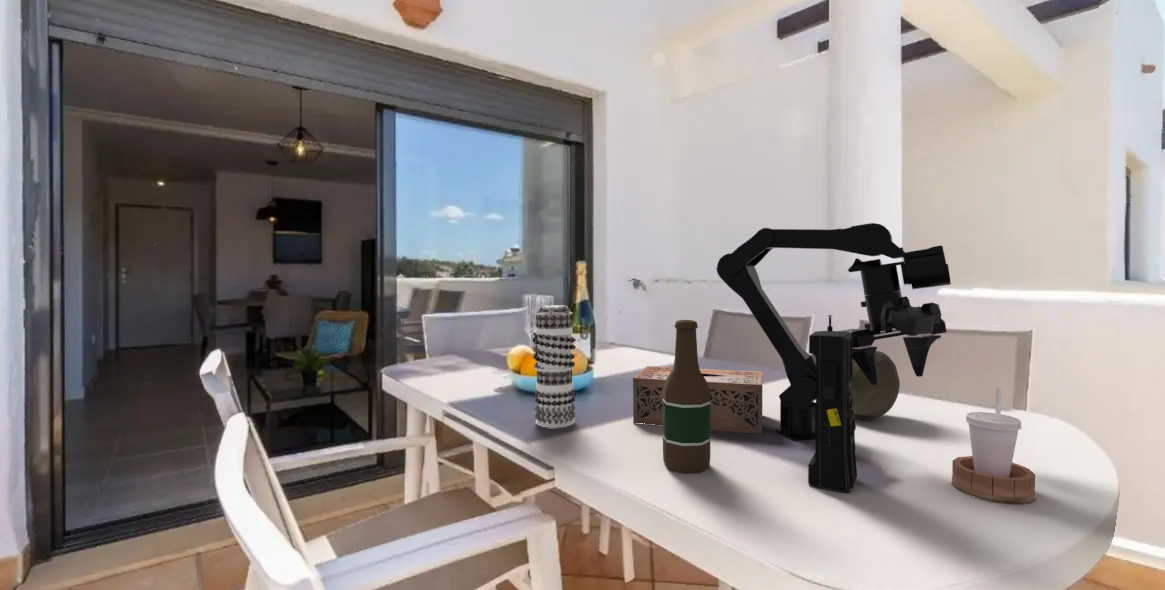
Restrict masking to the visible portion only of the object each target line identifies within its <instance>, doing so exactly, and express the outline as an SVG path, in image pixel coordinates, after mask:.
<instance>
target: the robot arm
mask: <svg viewBox="0 0 1165 590" xmlns="http://www.w3.org/2000/svg"><path fill="white" fill-rule="evenodd" d="M773 249H805V250H806V249H809V250H836V251H840V252H841V251H842V252H846V253H852V254H856V255H863V256H868V257H879V256H882V255H883V256H885V257H888V258H890V259H893V260H894V259H895V260H896V259H903V261H898V262H891V263H882V260H881V258H876V259H871V260H870V259H869V260H864V261H862V260H861V259H860V258H859V257H858V258H855V259H854V261H853V263H852V265H851V266H850V267H848V269H847V272H849V273H855V272H856V273H857V272H860V275H861V281H862V288H863V293H864V294H863V295H864V301H860V307H861V308H866V312H867V313H866V314H867V318H868V323H864V325H863V326H864V328H850V329H844V330H841V331H843V332H849V333H850V334H851V335H852V337H853V356H852V358H853V360H854V361H855V362H856V363H857V365H858V366H859V367H860V369H861V370H862V372H863V373H864V375H865V376H866V377H867V379H868V380H869V382H870V383H871V384H872V385H877V373H876V367H875V361H874V354H875V351H877V349H878V346H874V345H873V344H874V342H875V341H877V340H882V339H883V340H884V339H888V338H893V337H899V336H903V337H902V339H903V342H904V345H905V348H906V352H907V354H908V358H909V361H910V364H911V367H912V370H913V372H914V374H915V376H916V377H919V378H920V377H923V375H924V372H925V371H924V370H925V367H926V363H927V359H928V353H929V351H930V348H931V346H932V344H934V343H935V342H936V341H937V340H938V339H941V338H942V335H940V334H945V333H947V325H946V322H945V320H944V319H943V318H942V311H941V309H940V304H938V303H935V302H926V303H922V305H921V306H912V305H911V303H910V299H909V297H908V296H907V295H906V296H902V290H901V285H900V279H899V273H898V267H897V266H900V268H901V274H902V280H903V285H904V286H905V285H911V289H912V290H921V289H926V288H935V287H942V286H951V284H952V283H951V275H950V270H949V269H950V268H949V265H948V264H949V263H947V261H946V256H945V253H944V247H943V245H936V246H932V247H929V248H925V249H924V248H923V249H919V250H913V251H911V250H910V251H907V252H906V251H904V248H903V246H902V247H899V246H898V245H897V244H895V242H893V236H892V234H891V232H890V230H889V229H887V227H886V226H884V225H882V224H880V223H876V222H872V223H871V222H870V223H863V224H858V225H852V226H851V225H850V226H847V227H841V228H835V229H820V228H819V229H808V228H805V229H802V228H801V229H799V228H794V229H793V228H788V229H787V228H783V229H782V228H769V227H763V228H760V229H758V230H757V231H756V233H755V234H754V235H753V236H751V237H750V238H749V239H748V240H746V241H745V242H743V243H742V244H740V245H739V246H738V247H737V248H736V249H735V250H733V251H732V252H731V253H726V254H724V255H722V256H721V257H720V258H719V259H718V261H717V264H716V269H715V270H716V273H717V275H718V276H719V278H720V279H721V281H723V283H725V284H726V286H727V287H728V288H730V289H731V290H732V292H735V294H736V295H738V296H739V297H740V298H741V299H742V300H743V301H744V303H745V304H746V307H747V308H748V309H749V311H750V313H751V314H752V316H753V317H754V318H755V320H756V321H757V323H758V324H759V326H760V327H761V329H762V331H763V332H764V334H765V335H766V337H767V339H768V340H769V341H770V343H771V344H772V346H773V348H774V349H775V351H776V352H777V354H778V355H779V357H780V358H781V361H782V363H783V368H784V371H785V374H786V377H787V380H788V382H789V384H790V385H789V386H788V387H787V388H785V390H783V391H782V392H781V393H780V394H779V396H778V398H779V400H780V402H779V403H780V405H779V410H780V414H779V416H780V418H779V421H780V424H779V427H776V428H775V431H776V432H778V433H780V434H781V435H783V436H785V437H787V438H789V439H790V440H794V441H795V440H812V439H816V357H815V355H814V354H811V355H810V353H809V352H807V351H806V350H805V349H803V347H802V346H801V345H800V343H799V342H798V340H797V339H796V337H795V336H794V334H793V333H792V332H791V330H790V328H789V327H788V325H787V323H786V322H785V321H784V319H783V318H782V316H781V315H780V314H779V312H778V311H777V309H776V307H775V306H774V304H773V303H772V301H771V300H770V298H769V297H768V295H767V294H766V292H765V291H764V289H763V287H762V285H761V282H760V281H761V280H760V277H759V273H758V272H757V270H756V266H757V265H758V264H760V262H761V261H762V260H763V259H764V258H765V257H766V256H767V254H769V253H770V252H771V250H773Z"/></svg>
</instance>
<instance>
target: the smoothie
mask: <svg viewBox="0 0 1165 590" xmlns="http://www.w3.org/2000/svg"><path fill="white" fill-rule="evenodd" d="M1001 411H1002V387H1001V388H1000V387H996V388H995V412H986V411H985V412H984V411H983V412H982V411H973V412H968V413H966V419H965V422H966V423H967V424H968V430H969V431H968V432H969V437H970V445H971V452H972V454H971V456H973V464H974V471H975V472H979V473H983V474H987V475H991V476H998V477H1008V478H1009V477H1010V471H1011V466H1012V463H1013V462H1014V461H1013V460H1014V454H1015V451H1016V450H1015V449H1016V443H1017V440H1018V433H1019V430H1021V429H1022V421H1021V420H1020V419H1018V418H1017V417H1014V416H1010V415H1008V414H1007V415H1006V414H1002V413H1001Z"/></svg>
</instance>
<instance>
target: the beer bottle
mask: <svg viewBox="0 0 1165 590" xmlns="http://www.w3.org/2000/svg"><path fill="white" fill-rule="evenodd" d="M674 328H675V329H676V331H675V348H674V360H673V370H672V371H671V373H670V374H669V376H668V377H667V379H666V382H665V384H664V387H663V426H662V459H663V462H664V464H665V465H664V466H665V467H666V468H667V469H668V470H669V471H673V472H677V473H681V474H700V473H702V472H704V471H706V470H707V469H709V468H710V466H711V464H710V463H711V430H710V390H709V387H708V384H707V381H706V379H705V378H704V376H703V375H702V373H701V372H700V369H701V368H700V366H699V357H698V356H699V355H698V341H697V329H698V328H699V326H698V322H697V321H695V320H694V319H693V320H692V319H680V320H676V321H675V324H674Z"/></svg>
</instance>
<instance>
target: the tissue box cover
mask: <svg viewBox="0 0 1165 590" xmlns="http://www.w3.org/2000/svg"><path fill="white" fill-rule="evenodd" d="M699 369H700V372H701V373H702V375H703V376H704V378H705V379H706V381H707V384H708V387H709V390H710V431H718V432H719V431H720V432H721V431H722V432H729V431H732V433H741V432H743V433H742V434H744V433H745V434H753V433H755V435H763V371H757V370H739V369H738V370H737V369H735V370H733V369H716V368H715V369H714V368H713V369H712V368H699ZM672 370H673V367H671V366H650V365H648V366H645V368H643V369H642V370H641V371H640V372H638V373H637V374H635V376H633V378H632V401H633V402H632V405H633V406H632V407H633V408H632V409H633V410H632V411H633V412H632V417H633V418H632V420H633V421H632V423H643V424H642V425H644V423H645V424H655V425H654V426H656V425H662V426H661V427H663V387H664V384H665V382H666V379H667V377H668V376H669V374H670V373H671V371H672Z"/></svg>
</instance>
